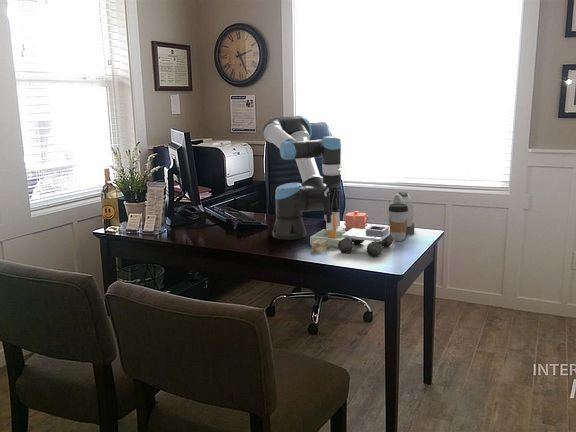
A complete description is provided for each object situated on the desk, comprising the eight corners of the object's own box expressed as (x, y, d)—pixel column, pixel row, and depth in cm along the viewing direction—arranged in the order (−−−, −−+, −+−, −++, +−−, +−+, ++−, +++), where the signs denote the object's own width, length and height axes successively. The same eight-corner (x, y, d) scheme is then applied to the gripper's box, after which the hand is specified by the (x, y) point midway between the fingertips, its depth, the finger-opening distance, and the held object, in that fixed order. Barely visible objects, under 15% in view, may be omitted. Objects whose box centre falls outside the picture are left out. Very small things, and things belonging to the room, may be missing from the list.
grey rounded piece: (418, 235, 243) (419, 194, 238) (395, 236, 242) (396, 195, 238) (408, 226, 258) (409, 188, 254) (386, 227, 258) (387, 189, 254)
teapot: (340, 232, 250) (340, 214, 249) (345, 224, 265) (345, 207, 263) (366, 233, 248) (366, 215, 246) (370, 225, 262) (370, 208, 260)
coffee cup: (407, 241, 232) (408, 207, 229) (387, 241, 234) (388, 206, 231) (407, 236, 240) (408, 203, 237) (388, 236, 242) (388, 202, 239)
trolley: (338, 252, 219) (337, 230, 217) (352, 242, 233) (352, 222, 231) (380, 257, 211) (381, 235, 209) (393, 247, 225) (393, 225, 223)
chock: (311, 252, 221) (311, 242, 220) (318, 248, 226) (317, 239, 225) (320, 253, 219) (320, 243, 218) (326, 249, 225) (326, 240, 224)
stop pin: (326, 240, 233) (326, 215, 231) (329, 238, 236) (329, 213, 234) (334, 241, 231) (334, 216, 229) (337, 239, 235) (337, 214, 232)
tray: (310, 244, 231) (310, 236, 230) (323, 236, 243) (323, 229, 243) (341, 248, 225) (341, 240, 224) (353, 240, 237) (353, 232, 236)
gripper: (331, 177, 218) (332, 234, 224) (347, 171, 233) (347, 224, 239) (314, 176, 222) (315, 232, 227) (331, 170, 237) (331, 223, 242)
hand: (331, 228), depth 233 cm, fingers open, 4 cm apart
